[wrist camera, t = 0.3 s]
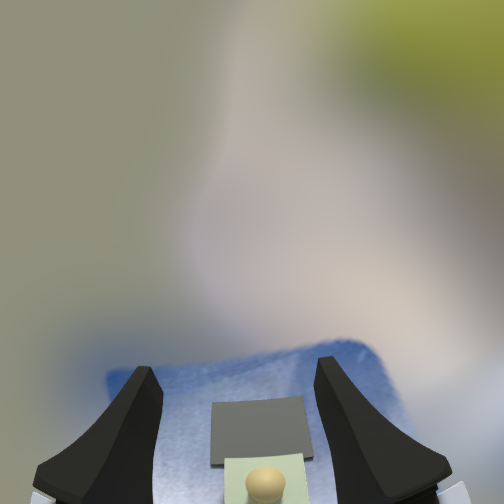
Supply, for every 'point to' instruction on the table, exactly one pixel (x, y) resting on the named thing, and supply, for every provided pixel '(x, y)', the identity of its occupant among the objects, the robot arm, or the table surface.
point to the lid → (265, 480)
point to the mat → (259, 429)
